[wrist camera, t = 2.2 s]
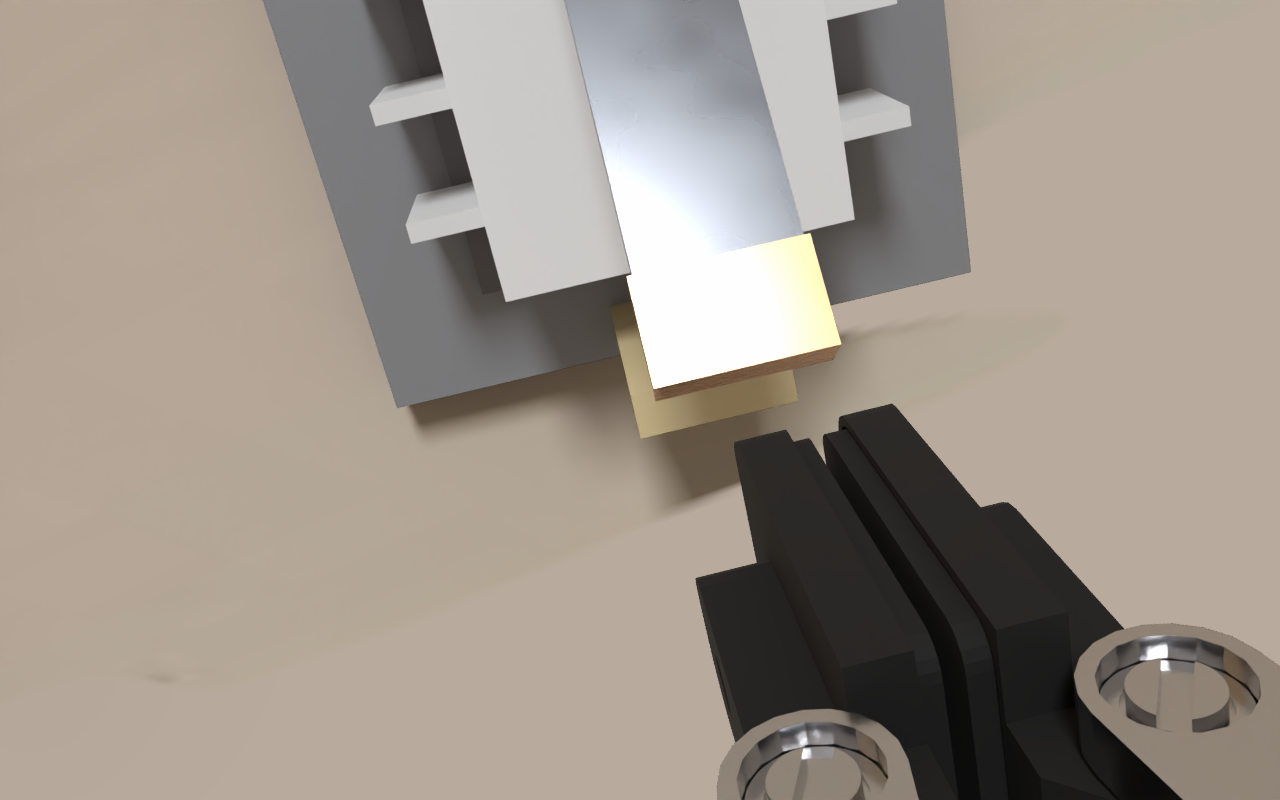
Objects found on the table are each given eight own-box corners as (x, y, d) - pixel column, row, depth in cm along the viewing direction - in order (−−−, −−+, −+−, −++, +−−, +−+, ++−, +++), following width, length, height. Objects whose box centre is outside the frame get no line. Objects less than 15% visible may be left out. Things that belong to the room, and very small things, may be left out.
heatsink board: (872, -502, 28) (1008, -664, 20) (953, 258, 36) (1073, 350, 28) (165, -338, 28) (29, -439, 20) (401, 389, 36) (369, 517, 28)
